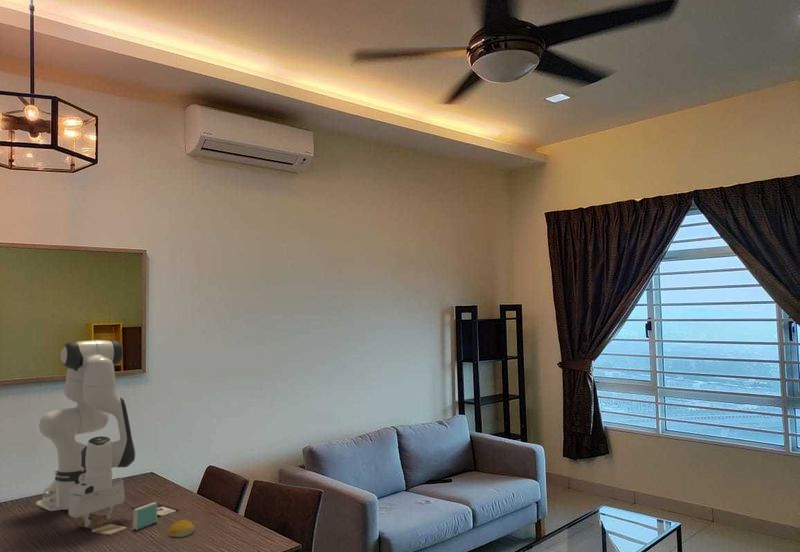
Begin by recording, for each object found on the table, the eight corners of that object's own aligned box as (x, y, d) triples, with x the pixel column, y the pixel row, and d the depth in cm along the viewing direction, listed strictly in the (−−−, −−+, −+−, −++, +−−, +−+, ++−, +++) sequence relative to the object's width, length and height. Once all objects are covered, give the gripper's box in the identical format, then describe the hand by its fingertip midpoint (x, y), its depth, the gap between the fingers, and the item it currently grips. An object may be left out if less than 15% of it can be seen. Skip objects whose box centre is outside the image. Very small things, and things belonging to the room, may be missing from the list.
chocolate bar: (153, 501, 238) (179, 509, 228) (153, 504, 238) (179, 512, 228) (132, 507, 231) (157, 516, 220) (132, 510, 231) (157, 518, 220)
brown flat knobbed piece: (73, 528, 210) (73, 516, 211) (91, 522, 217) (91, 510, 217) (109, 536, 202) (109, 524, 202) (126, 529, 208) (126, 518, 209)
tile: (133, 529, 208) (133, 509, 209) (153, 521, 216) (154, 502, 217) (136, 530, 207) (136, 510, 208) (157, 522, 215) (157, 502, 216)
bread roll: (168, 539, 198) (169, 527, 199) (169, 531, 207) (169, 519, 207) (194, 536, 201) (194, 524, 201) (194, 527, 210) (194, 516, 210)
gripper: (117, 475, 222) (116, 512, 221) (66, 489, 204) (65, 530, 203) (129, 477, 219) (128, 515, 218) (78, 492, 201) (77, 533, 200)
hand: (97, 522), depth 210 cm, fingers open, 6 cm apart
